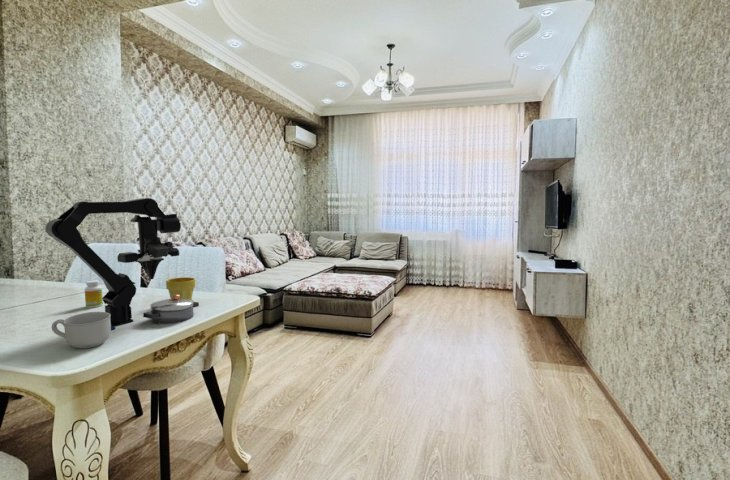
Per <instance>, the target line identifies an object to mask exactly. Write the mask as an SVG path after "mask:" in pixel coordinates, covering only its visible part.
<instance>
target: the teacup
mask: <svg viewBox="0 0 730 480" xmlns="http://www.w3.org/2000/svg"><path fill="white" fill-rule="evenodd" d="M110 317H111V314H109V313H107V312H105V311H91V312H83V313H79V314H74V315H70V316H69V317H67V318H65V319H63V318H62V319H61V318H60V319H56V320H55V321H54V322H53V323H52V325H51V330H52V332H53V333H54V335H57V336H59V337H61V338H63V339H64V340H66V343H68V345H70V346H71V347H74V348H76V349H82V350H83V349H84V350H85V349H90V347H91V348H95V347H97V346H100V345H102V344H103V343H104V342H105V341H107V340H108V338H109V337H110V335H111V333H112V332H111V331H112V326H111V321H110ZM58 324H60V325H62V326H63V329H64V332H63V331H61V330H60V329H58V327H57V326H58Z"/></svg>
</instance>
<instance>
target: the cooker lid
mask: <svg viewBox="0 0 730 480" xmlns="http://www.w3.org/2000/svg"><path fill="white" fill-rule="evenodd" d="M193 301H194V300H193V299H192V300H191V299H186V298H180V295H172V299H171V298H167V299H161V300H158V301H155V302H152V303H151V304H150V311H151V310H152V311H157V312H170V311H178V310H183V309H187V308H190V307H192V306H193Z"/></svg>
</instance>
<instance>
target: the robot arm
mask: <svg viewBox="0 0 730 480" xmlns="http://www.w3.org/2000/svg"><path fill="white" fill-rule="evenodd" d="M158 204H159V203H158V202H157V200H155V199H154V198H152V197H145V198H144V197H143V198H140V197H139V198H136V199H130V200H126V201H91V202H89V201H77V202H75V203H74V204H73V205H72V206H71V207H70V208H68V209H67V210H66V211H64V212H63V213H62V214H60V216H58V217H57V218H55V219H51V220H49V221H48V222H47V223H46V225H45V233H46V234H47V235H48V236H49V237H50V238H52V239H54V240H55V241H57V242H58V243H60V244H62V245H63V246H65V247H66V248H69V250H70V251H72V252H73V253H74V254H75V255H76V256H77V257H78V258H79V259H80V260H81V261H82V262H83V263H84V264H85V265H87V267H89V269H90V270H91V271H92V272H93V273H94V274H96V275H97V276H98V278H100V279H101V280H102V281H103V283H104V286H105V288H106V290H107V292H106V294H104V296H102V300H103V303H104V304H105V305H104V312H107V313H109V314H111V317H110V321H111V327H117V326H120V325H125V324H128V323H133V322H134V319H132V318H133V317H132V306H131V303H132V299H133V298H134V296H135V295H136V293H137V287H136V285H135V284H136V282H134V281H133V280H131V278H130V277H129V276H128V274H125V273H121V272H119V273H117V272H115V271H114V269H113V268H111V267H110V265H108V264H107V263H106V262H105V261H104V260H103V259H102V257H100V256H99V255H98V254H97V253H96V252H95V251H94V250H93V249H92V248H91V247H90V246H89V245H88V244H87V243H86V242H85V241H84V238H83V237H82V235H81V233H80V231H79V230H78V227H79V226H80V224H82V222H83V221H84V220H85V219H86V217H87V216H88V215H89V214H90V215H91V214H118V213H119V214H121V213H127V214H133V215H135V216H134V217H132V219H130V222H131V223H137V229H138V237H136V241H138V242H139V249H137V252H132V251H128V252H119V253H118V255H117V262H118V263H125V264H129V263H139V265H140V266H141V267H142V268H143V270H144V271H145V273H146V275H147V278H148V279H149V280H153V279H154V278H155V275H156V273H157V269H158V267H159V264H160V263H162V261H165V258H163V257H168V256H170V257H177V256H180V250H179V248H178V247H174V243H173V242H172V241H165V242H162V240H161V238H160V237H161V236H158V235H159V234H158V232H159V233H160V234H172V233H173V234H174V233H179V232H180V231H181V227H182V226H181V225H182V223H181V222H180V219H179V217H178V214H177V213H169V214H165V213H164V212H163V211H162V209H161V208H160V207H159V205H158ZM141 215H142V216H141ZM152 218H153V219H152ZM154 218H155V219H154Z"/></svg>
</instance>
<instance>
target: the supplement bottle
mask: <svg viewBox="0 0 730 480" xmlns="http://www.w3.org/2000/svg"><path fill="white" fill-rule="evenodd" d="M85 282H86V283H85V284H86V287H85V288H84V299H85V307H86V308H90V309H93V308H98V307H102V306H103V303H104V301H103V299H102V298H103V289H102V288H103V287H102V286H100V281H99V280H98V279H97V280H95V279H94V280H88V281H85Z"/></svg>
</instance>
